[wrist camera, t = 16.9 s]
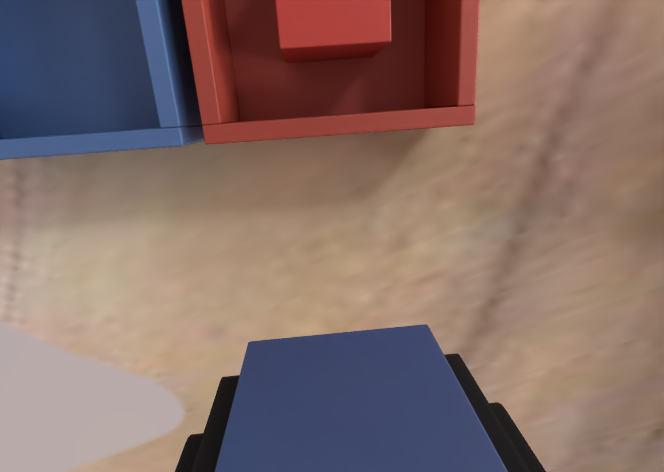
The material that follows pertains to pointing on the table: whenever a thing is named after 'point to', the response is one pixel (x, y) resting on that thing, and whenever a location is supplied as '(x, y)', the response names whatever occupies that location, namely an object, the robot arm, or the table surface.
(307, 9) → the red block
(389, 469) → the blue block
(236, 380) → the robot arm
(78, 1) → the blue bin
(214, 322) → the table surface
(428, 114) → the red bin
